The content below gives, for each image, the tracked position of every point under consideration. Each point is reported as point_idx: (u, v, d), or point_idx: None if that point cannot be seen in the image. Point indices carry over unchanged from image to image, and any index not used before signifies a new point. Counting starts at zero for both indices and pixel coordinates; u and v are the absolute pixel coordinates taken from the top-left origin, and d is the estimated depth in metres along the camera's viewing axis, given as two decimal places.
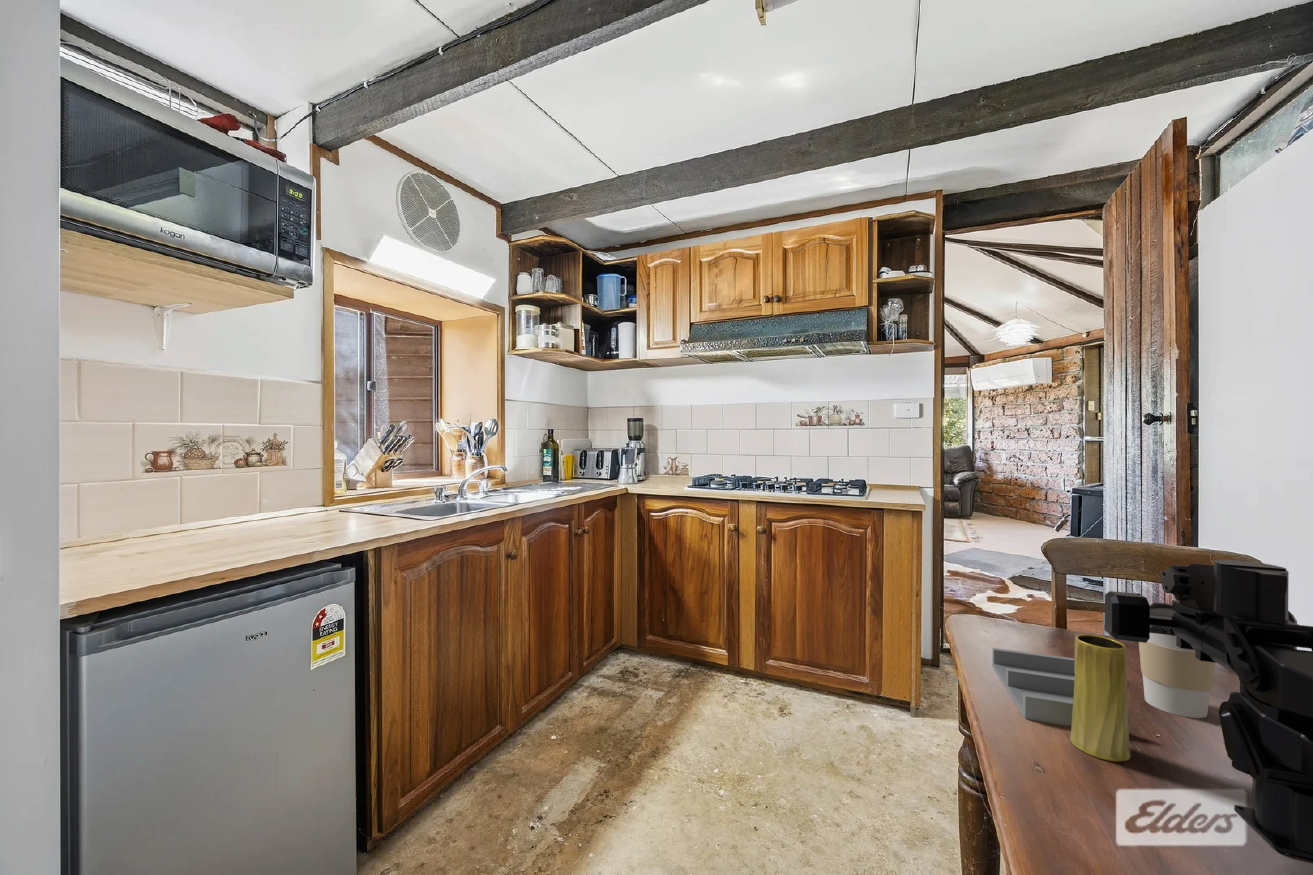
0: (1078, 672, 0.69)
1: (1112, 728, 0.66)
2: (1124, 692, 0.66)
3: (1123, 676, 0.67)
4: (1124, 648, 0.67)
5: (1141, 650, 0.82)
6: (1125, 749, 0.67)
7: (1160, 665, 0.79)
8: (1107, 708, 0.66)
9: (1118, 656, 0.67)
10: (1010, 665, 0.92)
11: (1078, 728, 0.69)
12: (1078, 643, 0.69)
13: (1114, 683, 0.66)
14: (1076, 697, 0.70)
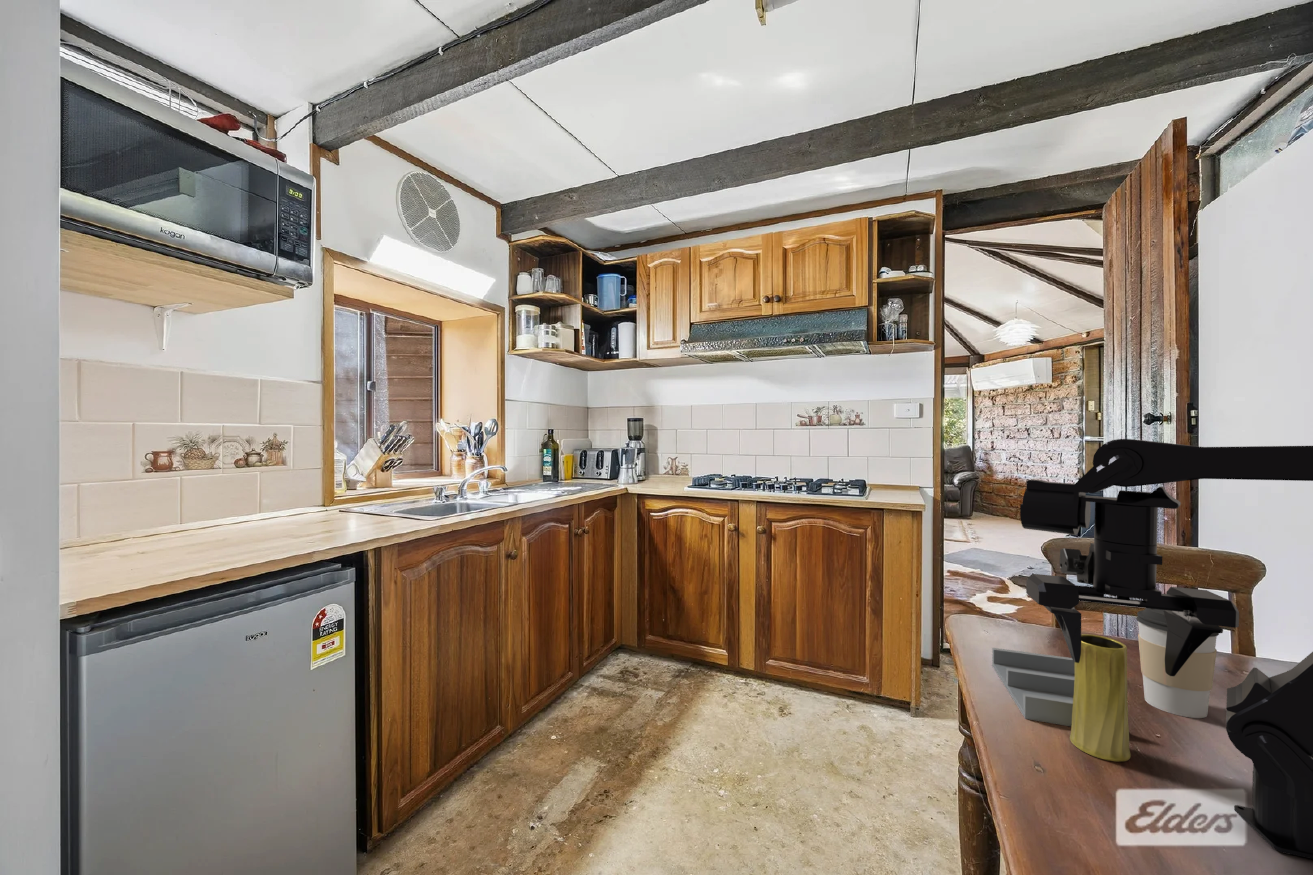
0: (1078, 672, 0.69)
1: (1112, 728, 0.66)
2: (1124, 692, 0.66)
3: (1123, 676, 0.67)
4: (1124, 648, 0.67)
5: (1141, 650, 0.82)
6: (1125, 749, 0.67)
7: (1160, 665, 0.79)
8: (1107, 708, 0.66)
9: (1118, 656, 0.67)
10: (1010, 665, 0.92)
11: (1078, 728, 0.69)
12: None
13: (1114, 683, 0.66)
14: (1076, 697, 0.70)
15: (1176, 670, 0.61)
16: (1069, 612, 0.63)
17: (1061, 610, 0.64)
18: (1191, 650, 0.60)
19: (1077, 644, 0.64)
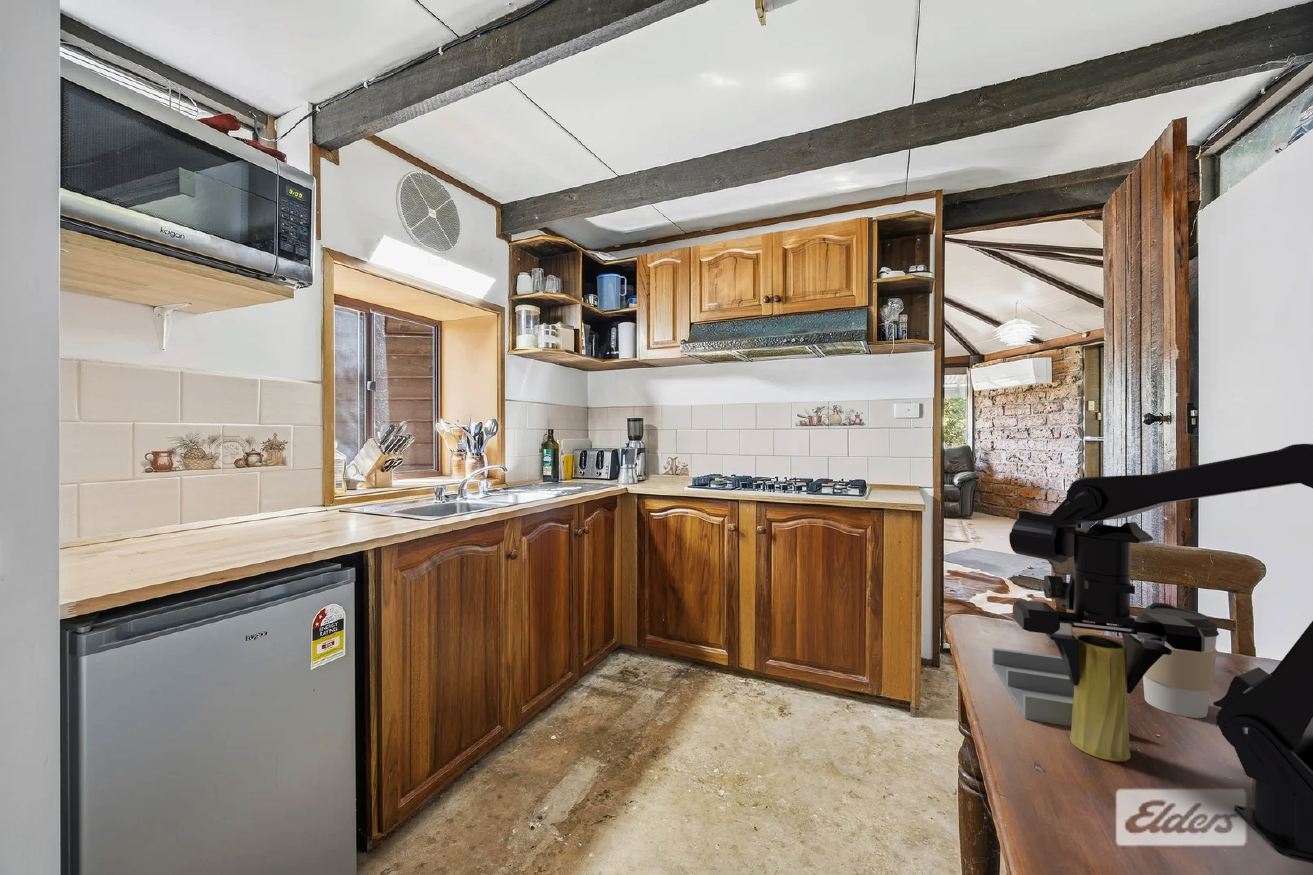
0: None
1: (1112, 728, 0.66)
2: (1124, 692, 0.66)
3: (1123, 676, 0.67)
4: (1124, 648, 0.67)
5: None
6: (1125, 749, 0.67)
7: (1160, 665, 0.79)
8: (1107, 708, 0.66)
9: (1118, 656, 0.67)
10: (1010, 665, 0.92)
11: (1078, 728, 0.69)
12: None
13: (1114, 683, 0.66)
14: (1076, 697, 0.70)
15: (1132, 688, 0.67)
16: (1067, 639, 0.68)
17: (1060, 637, 0.68)
18: (1144, 670, 0.66)
19: (1075, 668, 0.69)
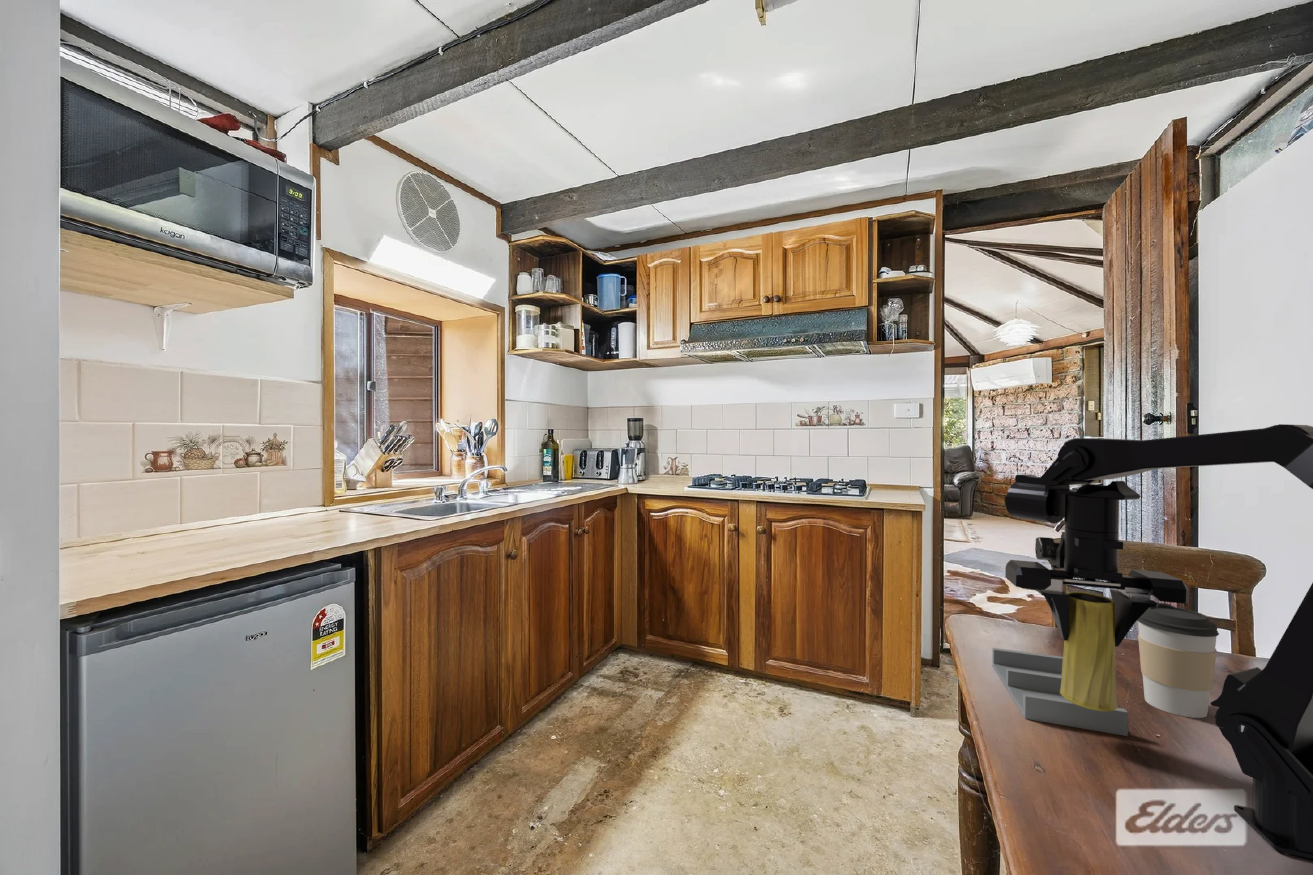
0: None
1: (1101, 679, 0.69)
2: (1112, 645, 0.69)
3: (1111, 629, 0.69)
4: (1112, 602, 0.69)
5: (1141, 650, 0.82)
6: (1113, 700, 0.69)
7: (1160, 665, 0.79)
8: (1095, 660, 0.69)
9: (1106, 610, 0.69)
10: (1010, 665, 0.92)
11: (1068, 681, 0.71)
12: None
13: (1103, 636, 0.69)
14: (1066, 652, 0.72)
15: (1119, 641, 0.69)
16: (1058, 594, 0.70)
17: (1051, 593, 0.71)
18: (1131, 623, 0.68)
19: (1065, 623, 0.71)
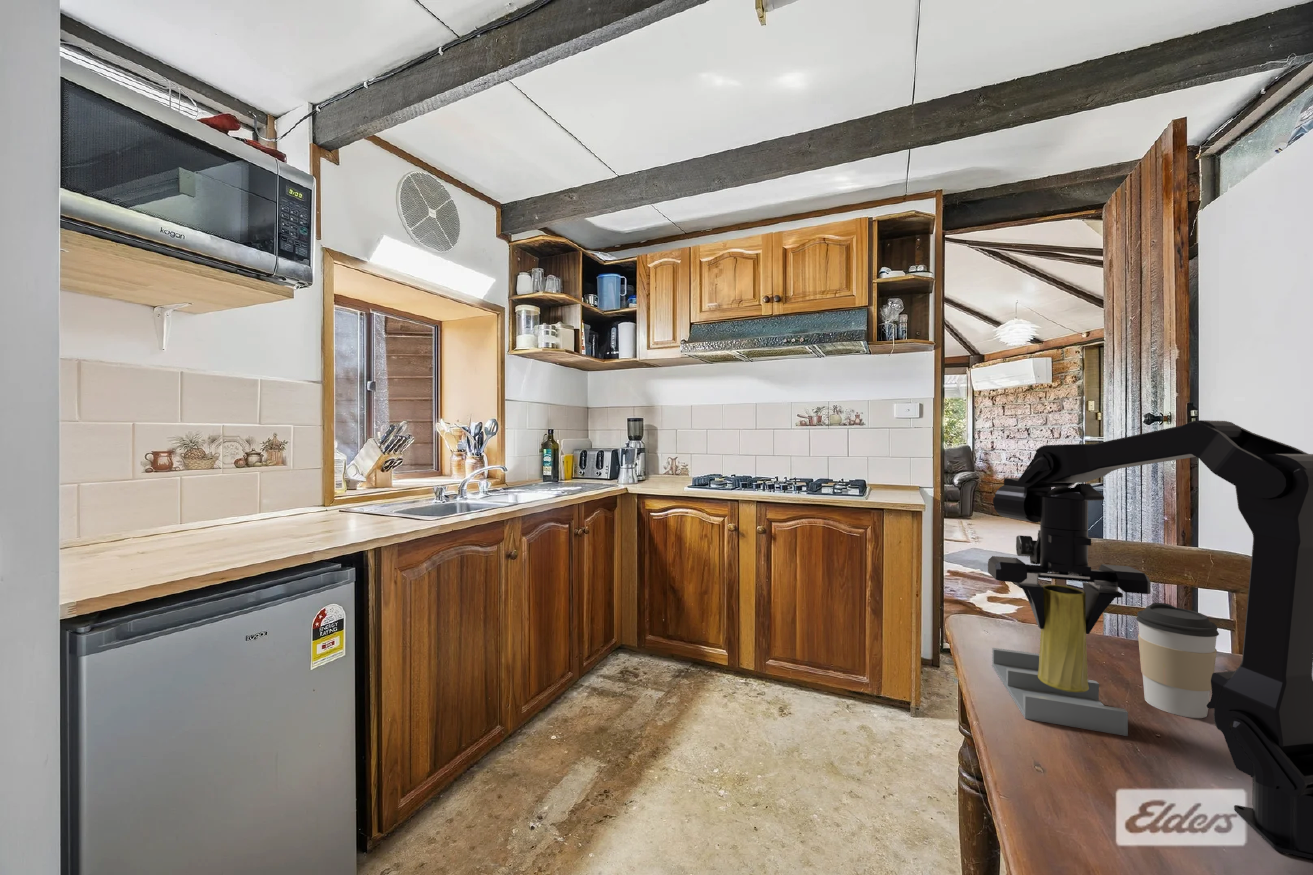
0: (1044, 616, 0.79)
1: (1072, 663, 0.76)
2: (1083, 632, 0.76)
3: (1082, 618, 0.76)
4: (1083, 593, 0.76)
5: (1141, 650, 0.82)
6: (1084, 682, 0.76)
7: (1160, 665, 0.79)
8: (1068, 646, 0.76)
9: (1077, 600, 0.76)
10: (1010, 665, 0.92)
11: (1044, 665, 0.79)
12: (1044, 591, 0.79)
13: (1074, 624, 0.76)
14: (1042, 639, 0.79)
15: (1090, 629, 0.77)
16: (1033, 586, 0.77)
17: (1027, 585, 0.78)
18: (1100, 612, 0.75)
19: (1041, 613, 0.78)
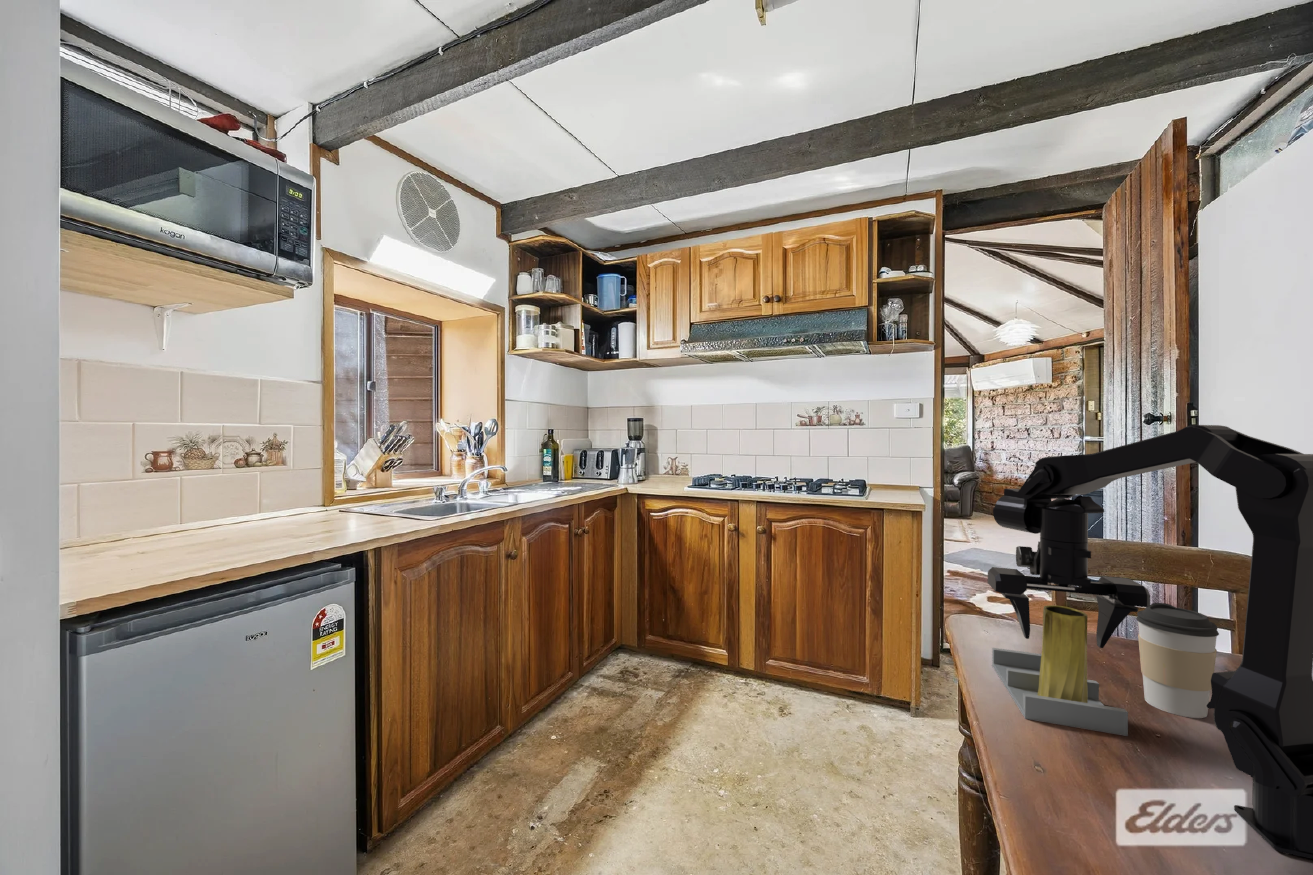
0: (1045, 637, 0.79)
1: (1073, 685, 0.76)
2: (1084, 654, 0.76)
3: (1083, 640, 0.76)
4: (1085, 616, 0.76)
5: (1141, 650, 0.82)
6: None
7: (1160, 665, 0.79)
8: (1068, 668, 0.76)
9: (1079, 622, 0.76)
10: (1010, 665, 0.92)
11: (1044, 686, 0.79)
12: (1045, 612, 0.79)
13: (1075, 646, 0.76)
14: (1043, 660, 0.79)
15: (1104, 643, 0.76)
16: (1019, 597, 0.78)
17: (1013, 596, 0.79)
18: (1114, 626, 0.75)
19: (1027, 623, 0.79)
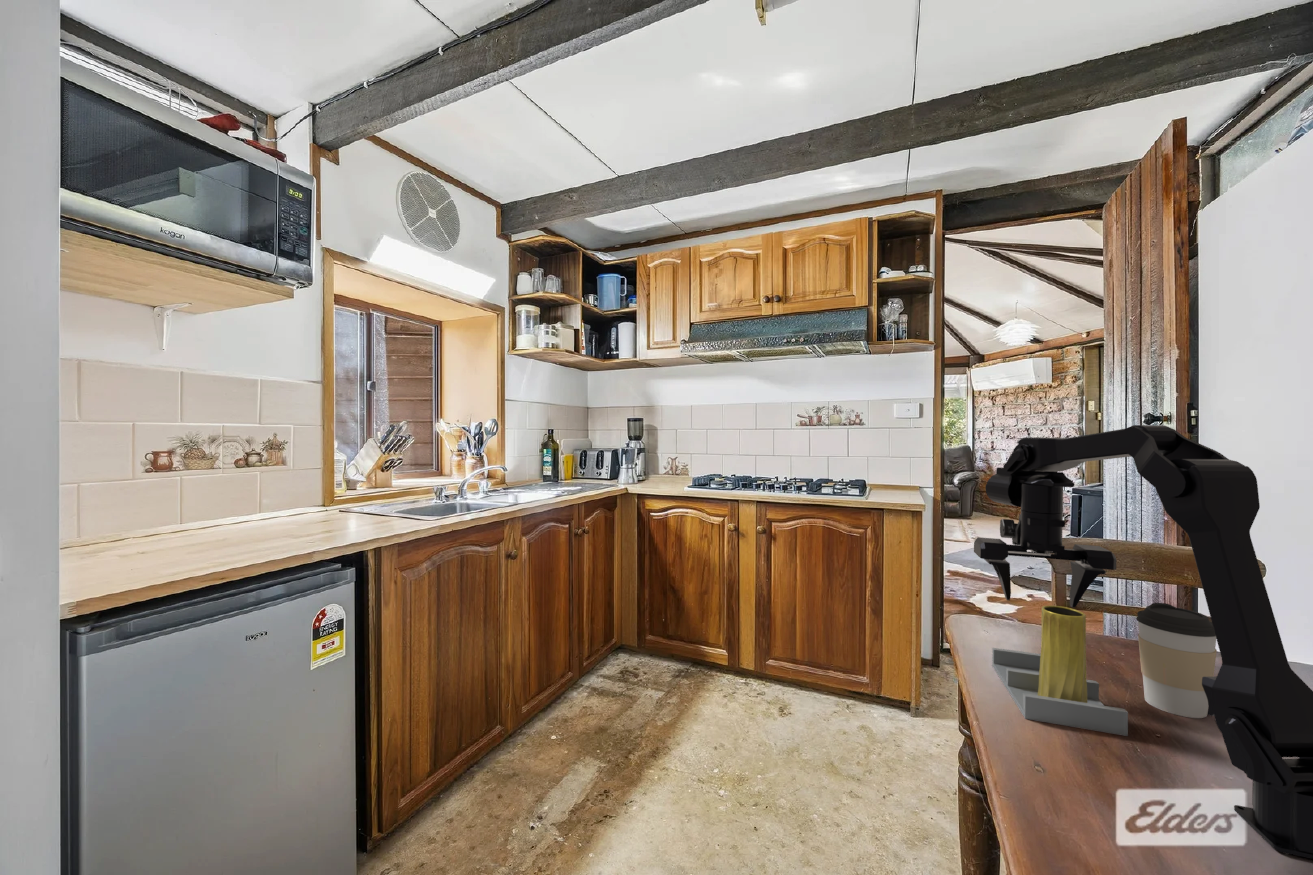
0: (1044, 638, 0.79)
1: (1072, 685, 0.76)
2: (1083, 654, 0.76)
3: (1082, 640, 0.76)
4: (1083, 616, 0.76)
5: (1141, 650, 0.82)
6: None
7: (1160, 665, 0.79)
8: (1067, 668, 0.76)
9: (1077, 622, 0.76)
10: (1010, 665, 0.92)
11: (1044, 687, 0.79)
12: (1044, 612, 0.79)
13: (1074, 646, 0.76)
14: (1042, 660, 0.79)
15: (1076, 602, 0.85)
16: (1001, 563, 0.87)
17: (996, 562, 0.88)
18: (1085, 587, 0.84)
19: (1008, 586, 0.88)
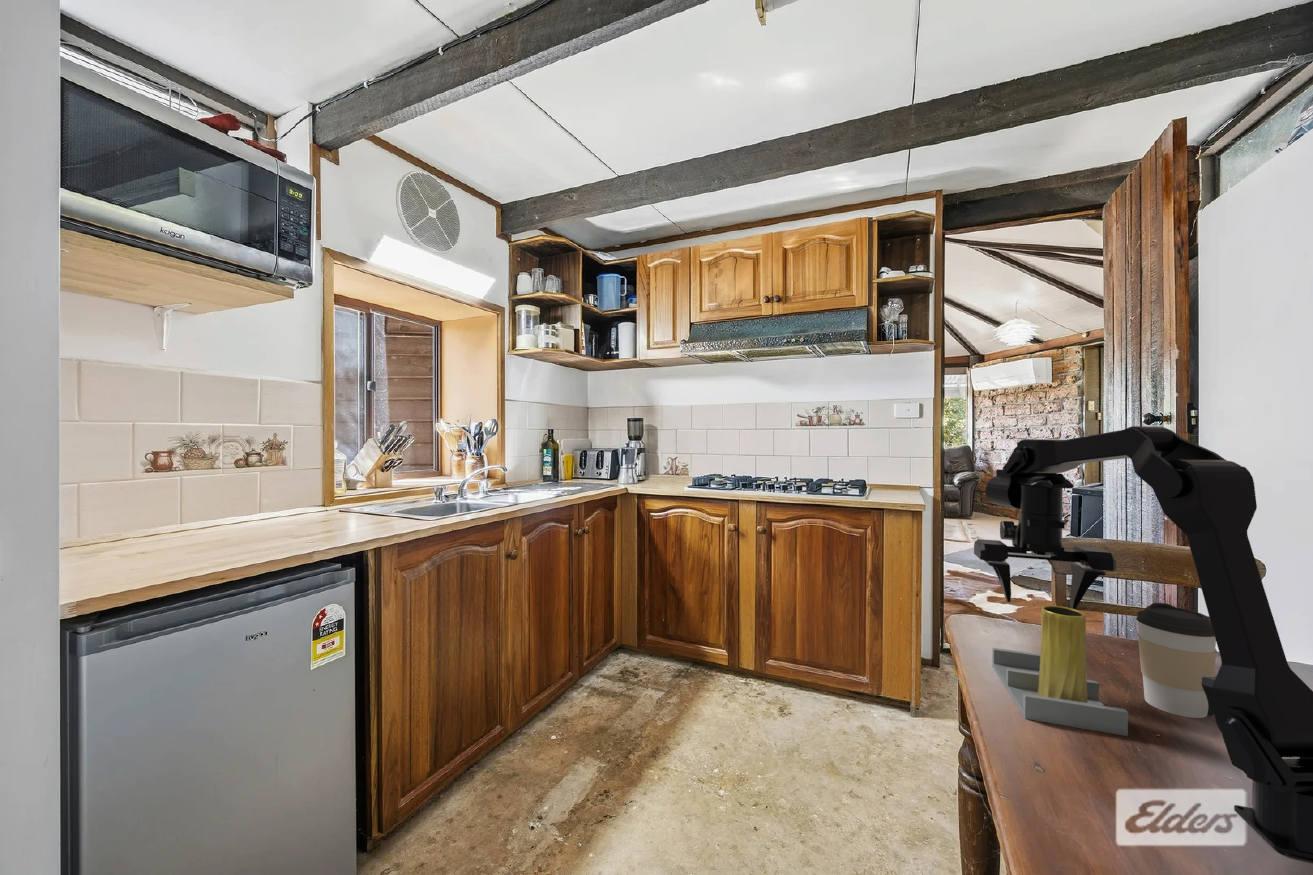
0: (1044, 638, 0.79)
1: (1072, 685, 0.76)
2: (1082, 654, 0.76)
3: (1082, 640, 0.76)
4: (1083, 616, 0.76)
5: (1141, 650, 0.82)
6: None
7: (1160, 665, 0.79)
8: (1067, 668, 0.76)
9: (1077, 622, 0.76)
10: (1010, 665, 0.92)
11: (1043, 687, 0.79)
12: (1044, 612, 0.79)
13: (1074, 646, 0.76)
14: (1042, 660, 0.79)
15: (1076, 604, 0.86)
16: (1001, 564, 0.87)
17: (996, 563, 0.88)
18: (1085, 589, 0.84)
19: (1008, 588, 0.88)
